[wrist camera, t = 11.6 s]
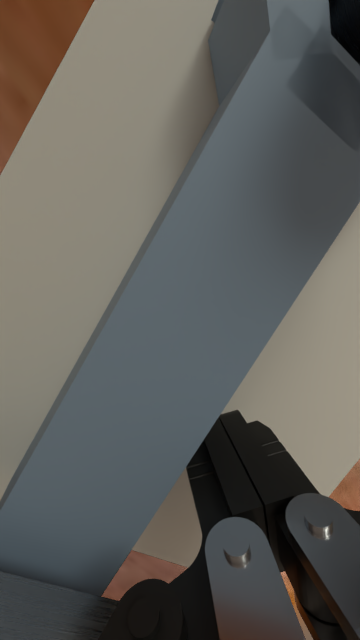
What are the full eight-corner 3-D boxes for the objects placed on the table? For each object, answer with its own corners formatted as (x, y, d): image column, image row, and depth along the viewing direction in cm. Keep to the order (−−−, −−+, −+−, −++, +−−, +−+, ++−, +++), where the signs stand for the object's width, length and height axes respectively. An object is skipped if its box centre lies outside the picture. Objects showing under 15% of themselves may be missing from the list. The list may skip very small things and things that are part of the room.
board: (244, -238, 7) (261, -312, 6) (546, 188, 12) (581, 183, 11) (-127, 439, 10) (-153, 460, 9) (246, 566, 15) (254, 588, 14)
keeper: (-79, 372, 10) (-411, 580, 4) (178, 480, 13) (225, 689, 7) (-118, 442, 10) (-478, 735, 4) (142, 530, 13) (155, 771, 7)
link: (297, -143, 7) (415, -410, 4) (441, 39, 9) (596, -62, 6) (-28, 468, 9) (-95, 565, 7) (133, 517, 11) (136, 611, 8)
